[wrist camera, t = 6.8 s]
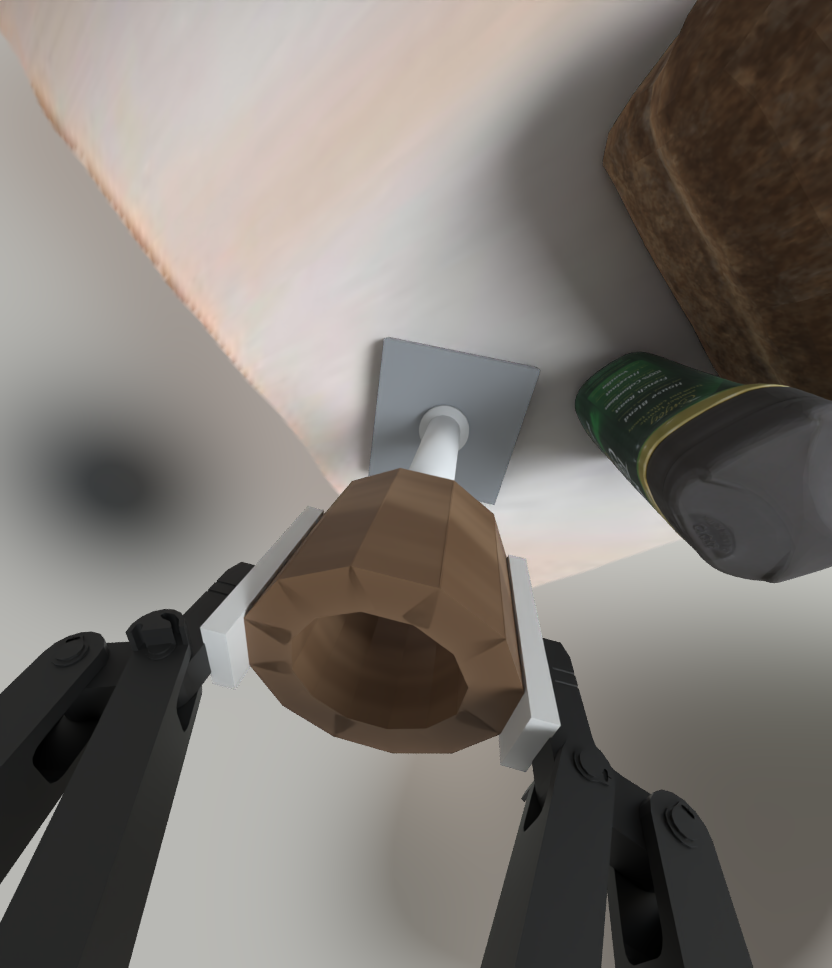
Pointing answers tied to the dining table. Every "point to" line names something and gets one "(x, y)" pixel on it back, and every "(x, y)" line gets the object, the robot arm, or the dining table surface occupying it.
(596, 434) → the coffee jar
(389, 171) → the dining table surface
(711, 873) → the robot arm
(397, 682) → the ring
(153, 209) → the dining table surface
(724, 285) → the bread
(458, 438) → the post block
